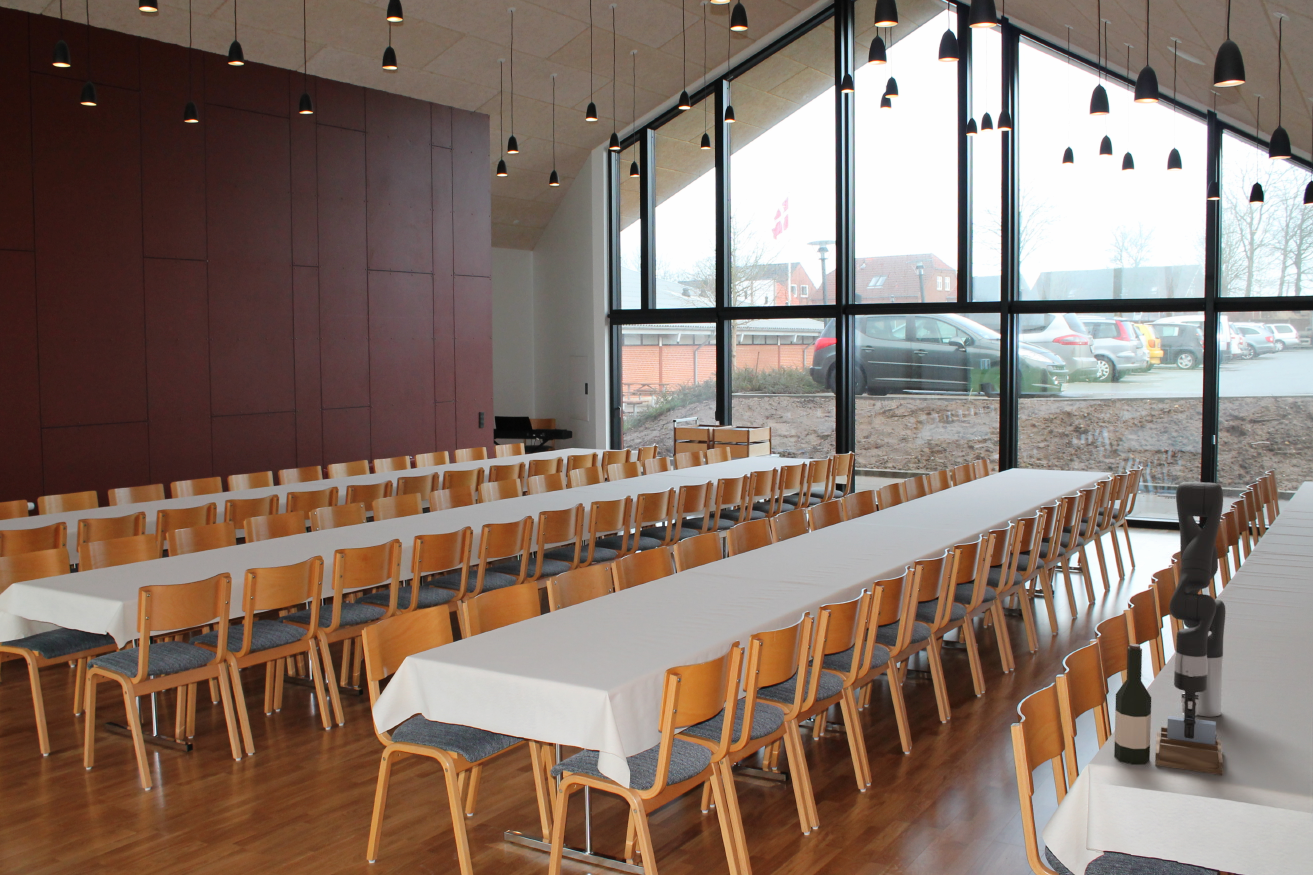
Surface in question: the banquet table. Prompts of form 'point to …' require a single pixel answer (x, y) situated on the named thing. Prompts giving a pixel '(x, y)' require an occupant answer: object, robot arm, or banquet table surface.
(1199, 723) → the light blue flat block
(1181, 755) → the rack
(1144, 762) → the wine bottle
